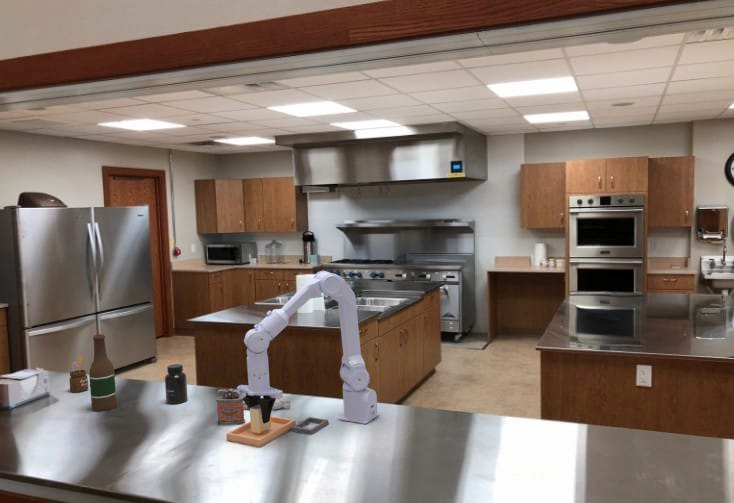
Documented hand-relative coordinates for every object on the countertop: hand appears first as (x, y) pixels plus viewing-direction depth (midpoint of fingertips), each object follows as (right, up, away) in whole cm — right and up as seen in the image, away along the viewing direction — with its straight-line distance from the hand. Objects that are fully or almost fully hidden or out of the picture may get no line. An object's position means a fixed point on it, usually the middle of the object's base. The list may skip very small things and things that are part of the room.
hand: (261, 421), depth 163 cm
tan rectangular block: (0, -2, 0) cm, 2 cm away
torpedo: (-3, -3, +21) cm, 21 cm away
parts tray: (0, -4, 0) cm, 3 cm away
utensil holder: (-74, -3, +49) cm, 89 cm away
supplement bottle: (-34, -3, +32) cm, 46 cm away
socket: (+13, -3, +3) cm, 14 cm away
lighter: (-10, -4, +10) cm, 15 cm away
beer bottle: (-56, -4, +29) cm, 63 cm away
